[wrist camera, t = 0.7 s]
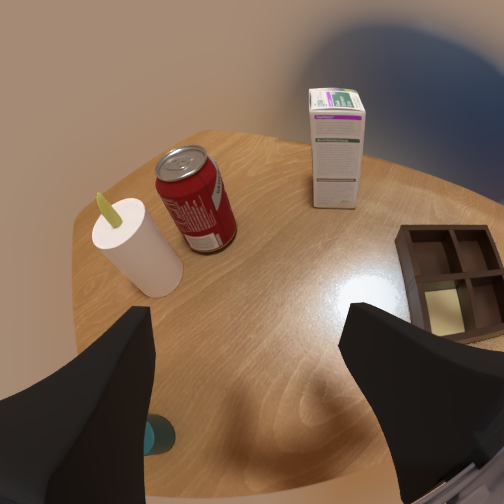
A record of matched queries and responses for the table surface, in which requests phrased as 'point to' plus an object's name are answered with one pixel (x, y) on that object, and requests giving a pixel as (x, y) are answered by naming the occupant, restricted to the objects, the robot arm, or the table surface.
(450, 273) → the grid
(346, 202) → the syrup box
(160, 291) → the candle
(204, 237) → the soda can
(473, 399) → the robot arm
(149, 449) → the teal cylinder
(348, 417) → the table surface
